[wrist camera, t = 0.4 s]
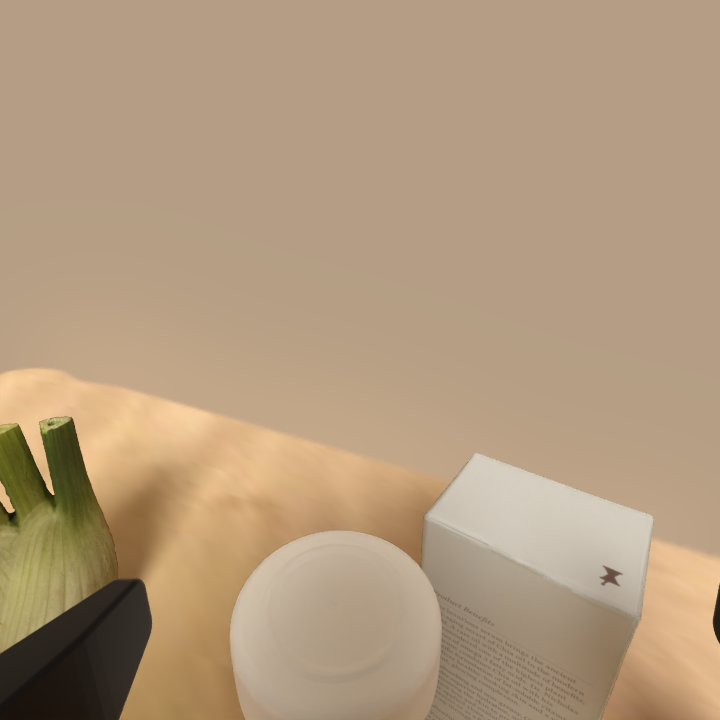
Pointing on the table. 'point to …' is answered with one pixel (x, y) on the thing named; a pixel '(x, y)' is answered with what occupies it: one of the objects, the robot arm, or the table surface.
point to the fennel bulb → (48, 532)
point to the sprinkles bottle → (336, 632)
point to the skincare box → (531, 594)
